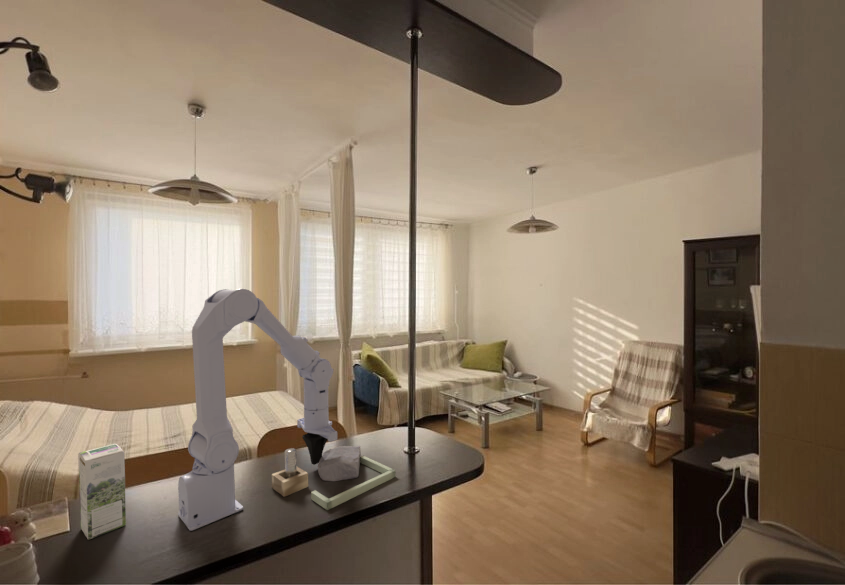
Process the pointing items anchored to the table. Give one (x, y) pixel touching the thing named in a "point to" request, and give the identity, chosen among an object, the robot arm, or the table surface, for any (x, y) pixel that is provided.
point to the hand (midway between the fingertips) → (316, 463)
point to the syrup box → (102, 490)
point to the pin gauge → (290, 463)
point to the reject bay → (359, 489)
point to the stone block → (340, 463)
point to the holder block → (289, 482)
